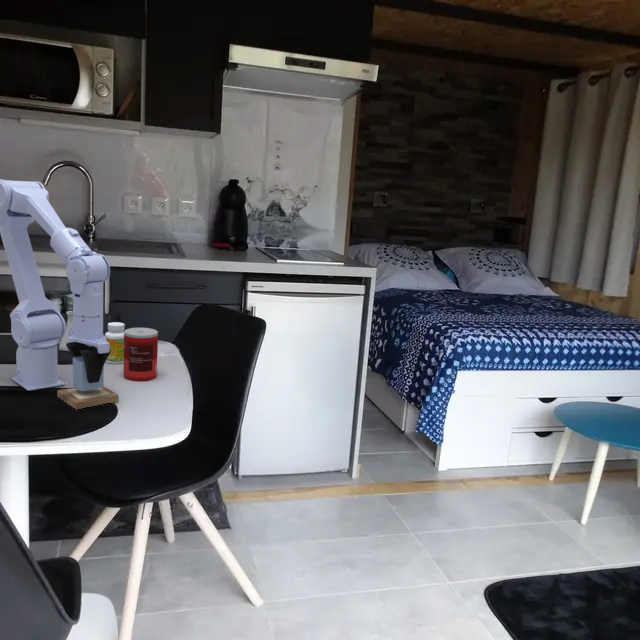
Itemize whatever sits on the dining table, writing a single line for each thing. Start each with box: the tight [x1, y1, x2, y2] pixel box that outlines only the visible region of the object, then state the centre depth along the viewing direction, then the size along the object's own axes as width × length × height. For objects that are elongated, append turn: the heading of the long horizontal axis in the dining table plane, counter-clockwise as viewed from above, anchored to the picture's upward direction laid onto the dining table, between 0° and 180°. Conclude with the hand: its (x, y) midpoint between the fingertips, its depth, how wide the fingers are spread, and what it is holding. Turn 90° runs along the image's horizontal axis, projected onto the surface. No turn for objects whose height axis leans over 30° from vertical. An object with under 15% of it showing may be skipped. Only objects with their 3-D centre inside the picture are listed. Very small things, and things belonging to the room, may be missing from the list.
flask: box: [58, 310, 73, 352], centre depth 167 cm, size 7×7×10 cm
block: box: [72, 356, 105, 391], centre depth 131 cm, size 4×4×6 cm
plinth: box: [56, 385, 120, 411], centre depth 132 cm, size 9×9×2 cm
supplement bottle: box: [104, 321, 126, 365], centre depth 159 cm, size 5×5×10 cm
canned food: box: [122, 327, 159, 382], centre depth 149 cm, size 8×8×11 cm
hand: (88, 378), depth 131 cm, fingers closed on block, 4 cm apart
